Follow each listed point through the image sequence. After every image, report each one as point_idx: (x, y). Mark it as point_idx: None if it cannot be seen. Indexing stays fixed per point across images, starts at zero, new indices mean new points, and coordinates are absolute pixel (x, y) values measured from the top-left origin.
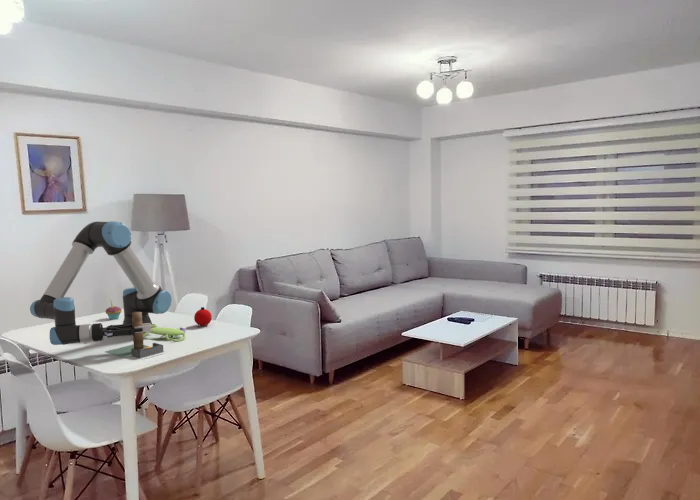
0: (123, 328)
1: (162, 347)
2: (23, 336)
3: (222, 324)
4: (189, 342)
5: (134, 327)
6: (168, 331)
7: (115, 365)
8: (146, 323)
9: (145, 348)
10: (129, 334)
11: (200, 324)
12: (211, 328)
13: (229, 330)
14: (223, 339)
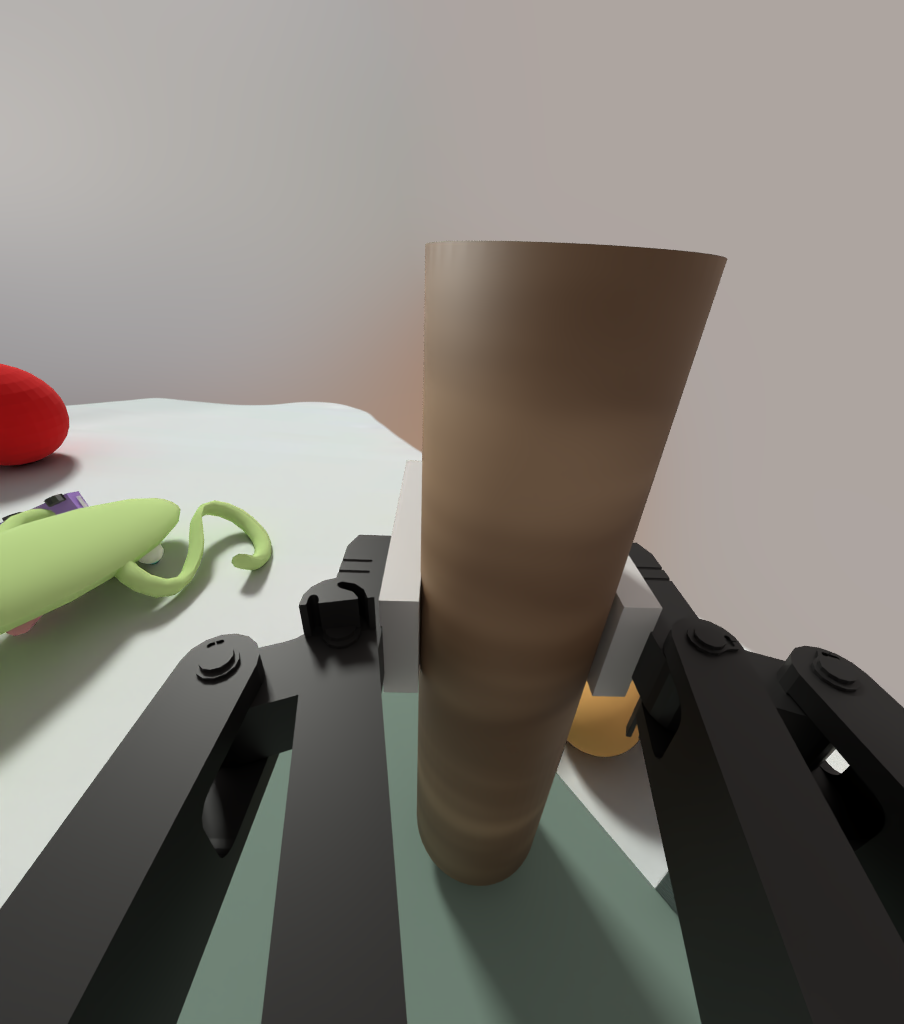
0: (857, 926)
1: None
2: None
3: (111, 427)
4: (341, 519)
5: (603, 626)
6: (111, 541)
7: None
8: (412, 487)
9: (633, 705)
10: (827, 782)
11: (34, 454)
12: (135, 450)
13: (249, 427)
14: (380, 447)
